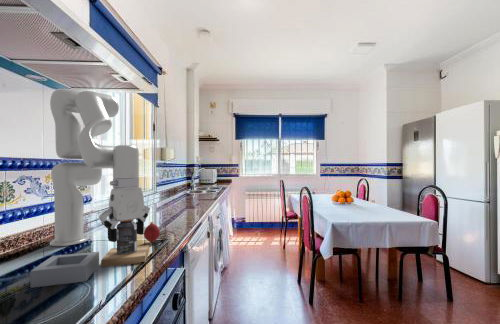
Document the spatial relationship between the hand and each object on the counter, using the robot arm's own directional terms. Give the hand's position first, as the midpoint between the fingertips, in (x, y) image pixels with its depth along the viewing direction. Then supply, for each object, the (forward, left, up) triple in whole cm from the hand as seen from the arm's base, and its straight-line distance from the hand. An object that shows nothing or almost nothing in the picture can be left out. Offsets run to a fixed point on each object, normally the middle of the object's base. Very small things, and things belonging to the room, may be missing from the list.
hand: (126, 237), depth 86 cm
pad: (0, 0, -7) cm, 7 cm away
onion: (-17, +6, -7) cm, 19 cm away
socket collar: (+10, -13, -7) cm, 18 cm away
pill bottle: (0, 0, -5) cm, 5 cm away
